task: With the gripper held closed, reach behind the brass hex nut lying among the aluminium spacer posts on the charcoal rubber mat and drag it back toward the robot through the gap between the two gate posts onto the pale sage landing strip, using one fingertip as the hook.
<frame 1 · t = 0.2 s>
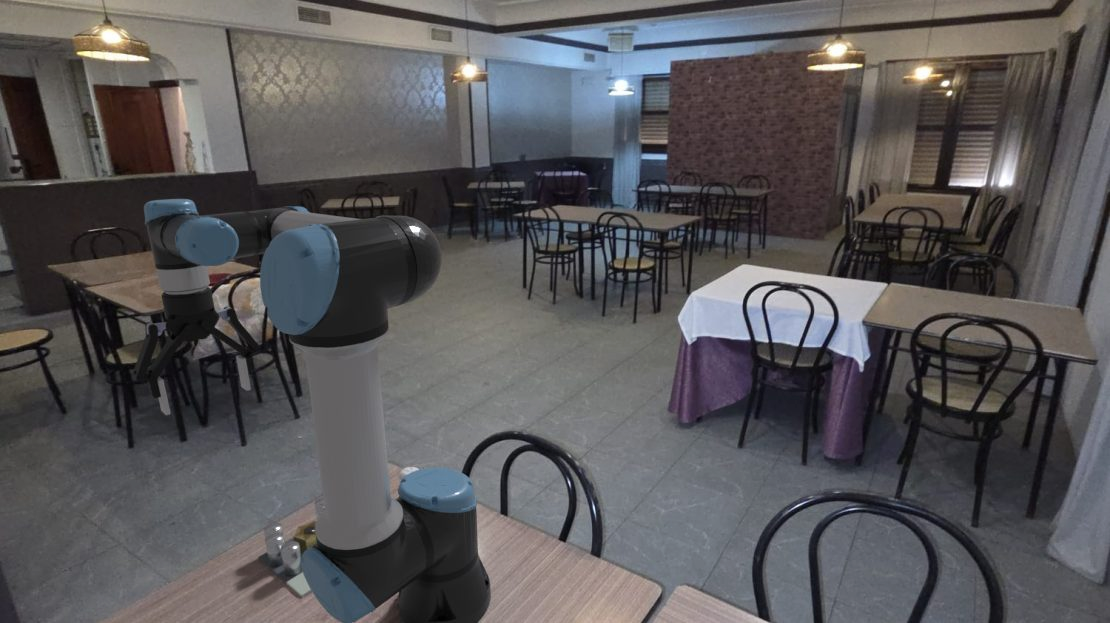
hand: (207, 400, 108), 28 cm above the table, fingers open, 13 cm apart
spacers: (310, 533, 109), on the mat, point 3 cm above the table
mat: (321, 553, 109), on the table
nut: (312, 543, 110), point 1 cm above the table, touching mat
milkshake: (414, 509, 122), on the table
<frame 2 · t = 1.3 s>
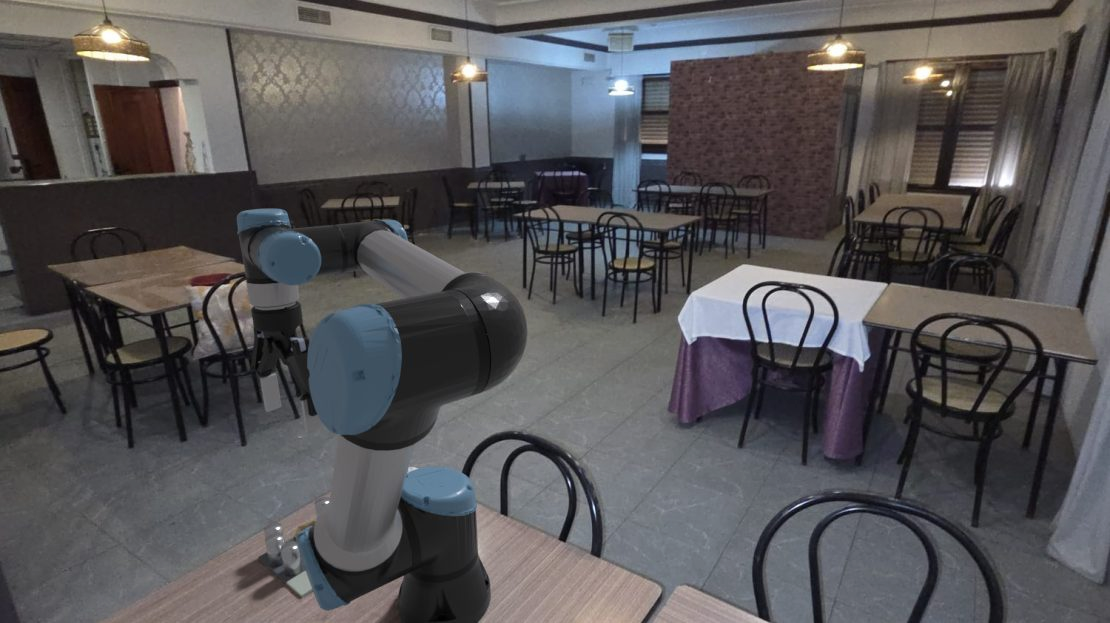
hand: (293, 419, 103), 27 cm above the table, fingers open, 13 cm apart
nothing on the table moved.
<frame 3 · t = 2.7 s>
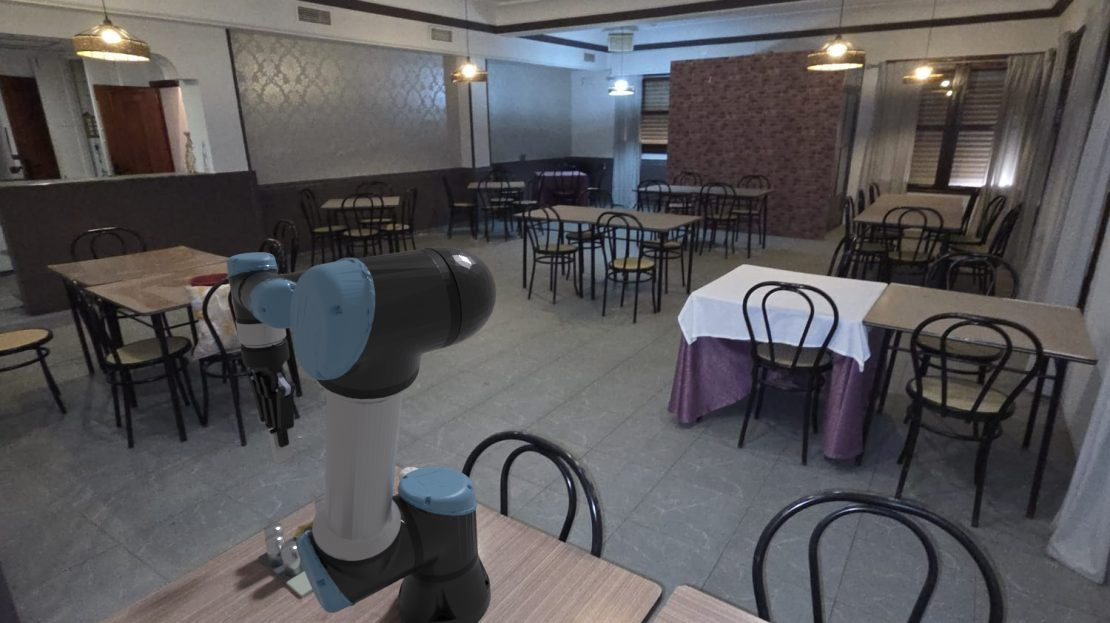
hand: (282, 459, 110), 16 cm above the table, fingers closed
nothing on the table moved.
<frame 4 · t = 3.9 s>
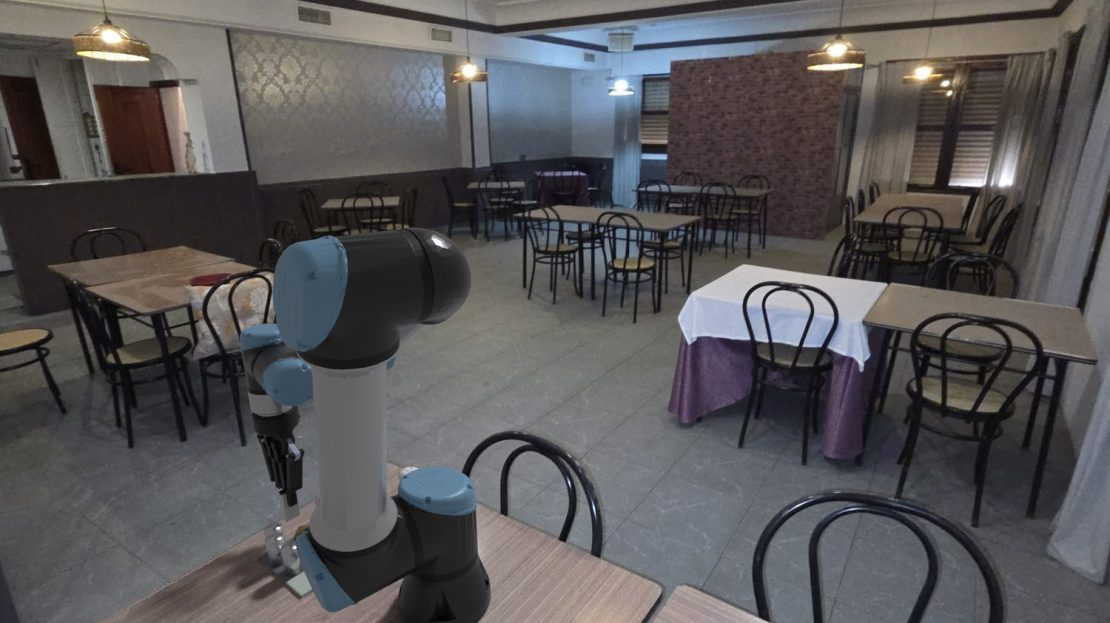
hand: (291, 516, 114), 3 cm above the table, fingers closed
nothing on the table moved.
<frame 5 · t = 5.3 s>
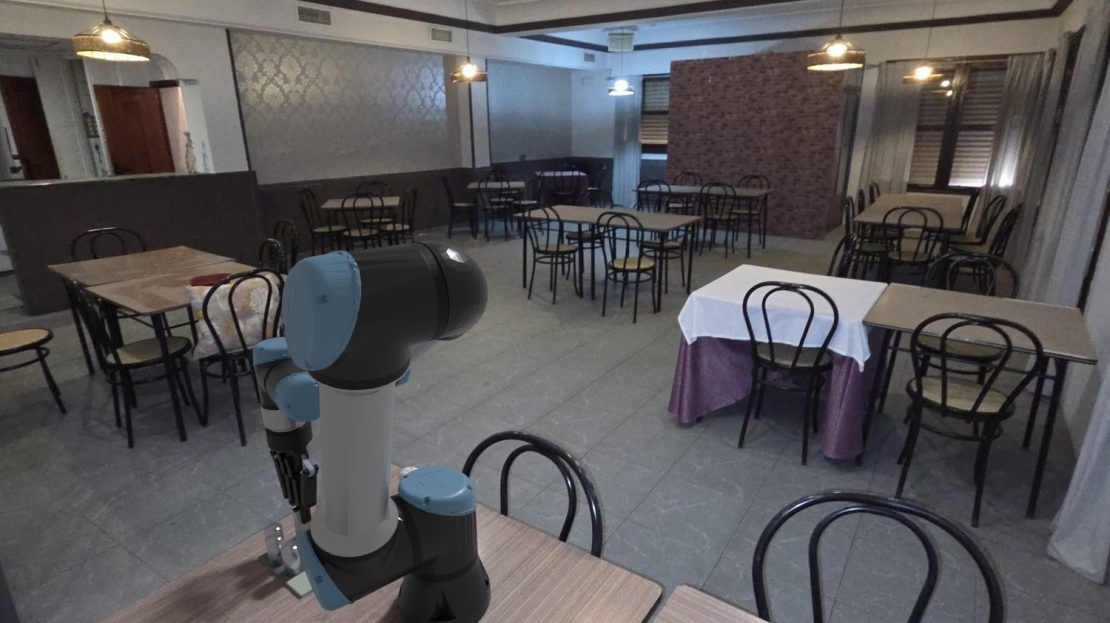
hand: (305, 534, 111), 2 cm above the table, fingers closed
nut: (316, 547, 109), point 1 cm above the table
everything else where it was.
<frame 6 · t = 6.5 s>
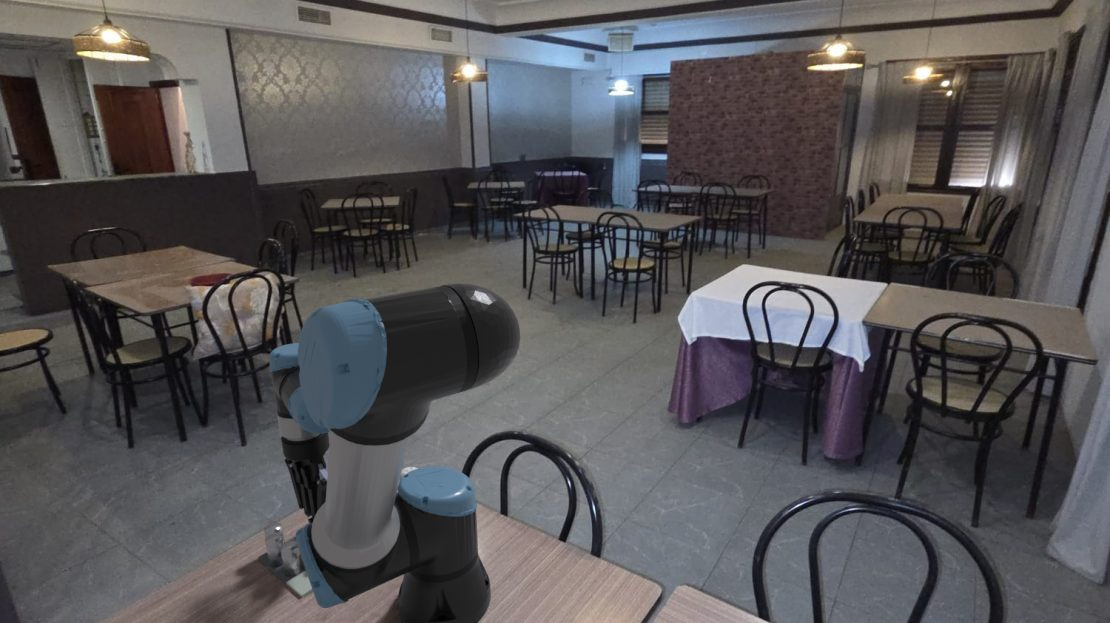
hand: (320, 545, 108), 2 cm above the table, fingers closed
nut: (334, 557, 107), point 1 cm above the table
everything else where it was.
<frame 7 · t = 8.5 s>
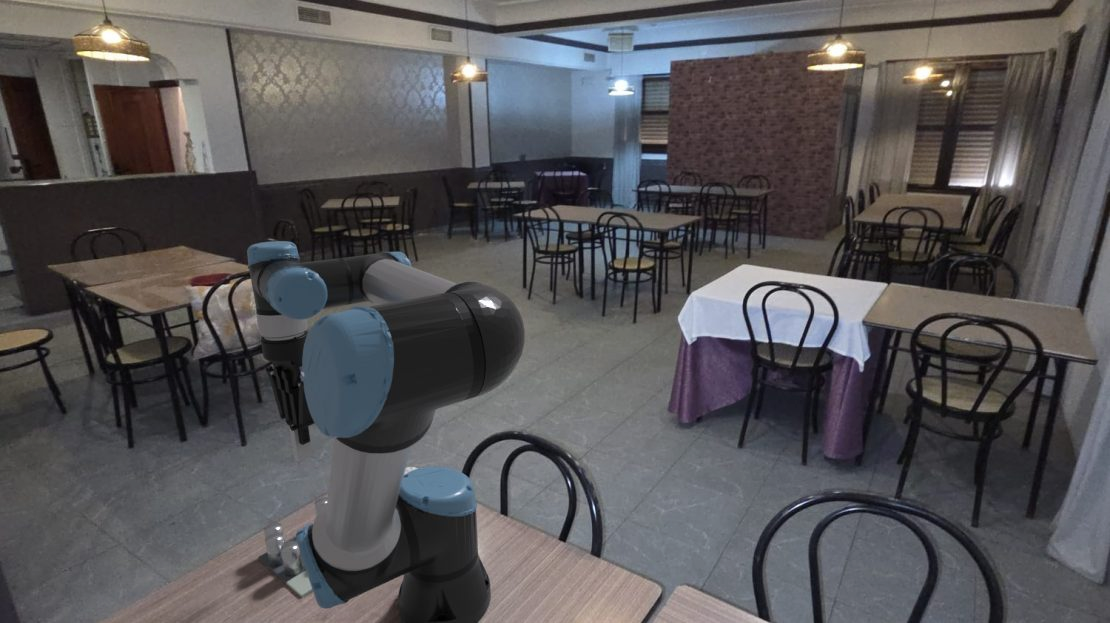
hand: (303, 457, 105), 19 cm above the table, fingers closed
nut: (334, 557, 107), point 1 cm above the table, touching mat
everything else where it was.
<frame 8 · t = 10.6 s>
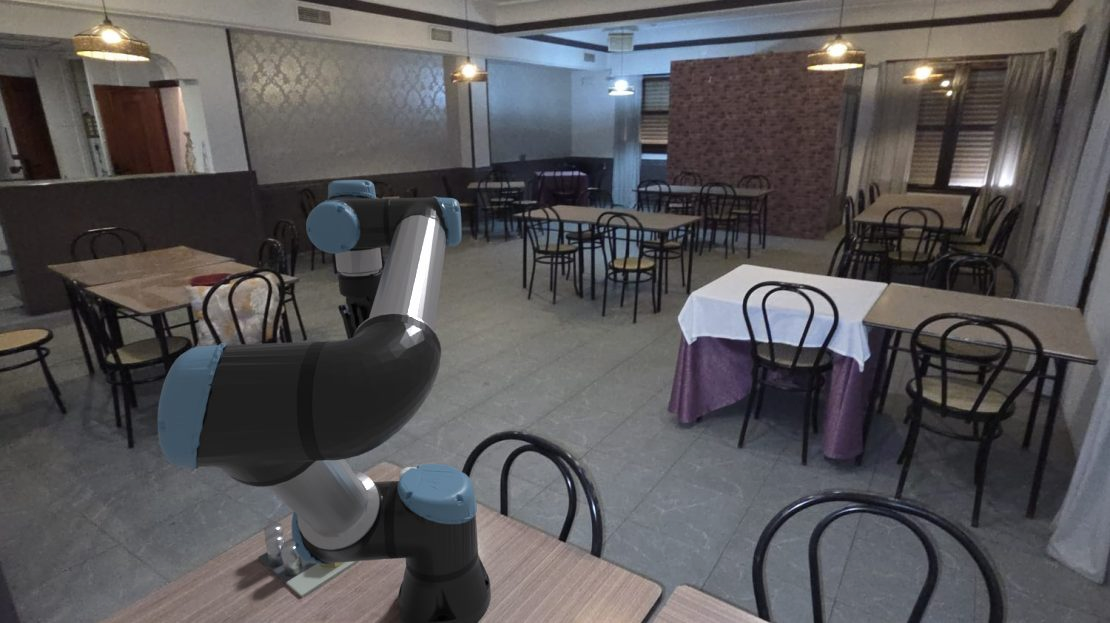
hand: (373, 395, 108), 28 cm above the table, fingers closed
nothing on the table moved.
at the end: nut inside the target area (1.7 cm from its centre), point 0.6 cm above the table; nut moved 6.7 cm from its start; the gripper is holding nothing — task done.
